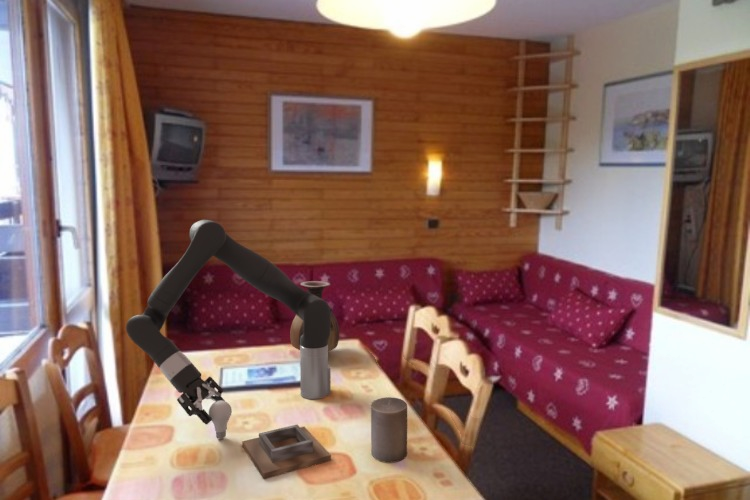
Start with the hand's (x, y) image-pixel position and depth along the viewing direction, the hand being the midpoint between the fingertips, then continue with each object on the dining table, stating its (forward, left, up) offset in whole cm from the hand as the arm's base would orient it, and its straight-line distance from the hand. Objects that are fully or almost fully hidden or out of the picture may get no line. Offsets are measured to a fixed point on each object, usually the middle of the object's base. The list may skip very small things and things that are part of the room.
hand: (218, 415), depth 151 cm
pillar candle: (-37, +30, -7) cm, 48 cm away
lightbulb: (0, +1, -7) cm, 7 cm away
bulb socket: (-13, +17, -7) cm, 22 cm away
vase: (-50, -49, -7) cm, 71 cm away
